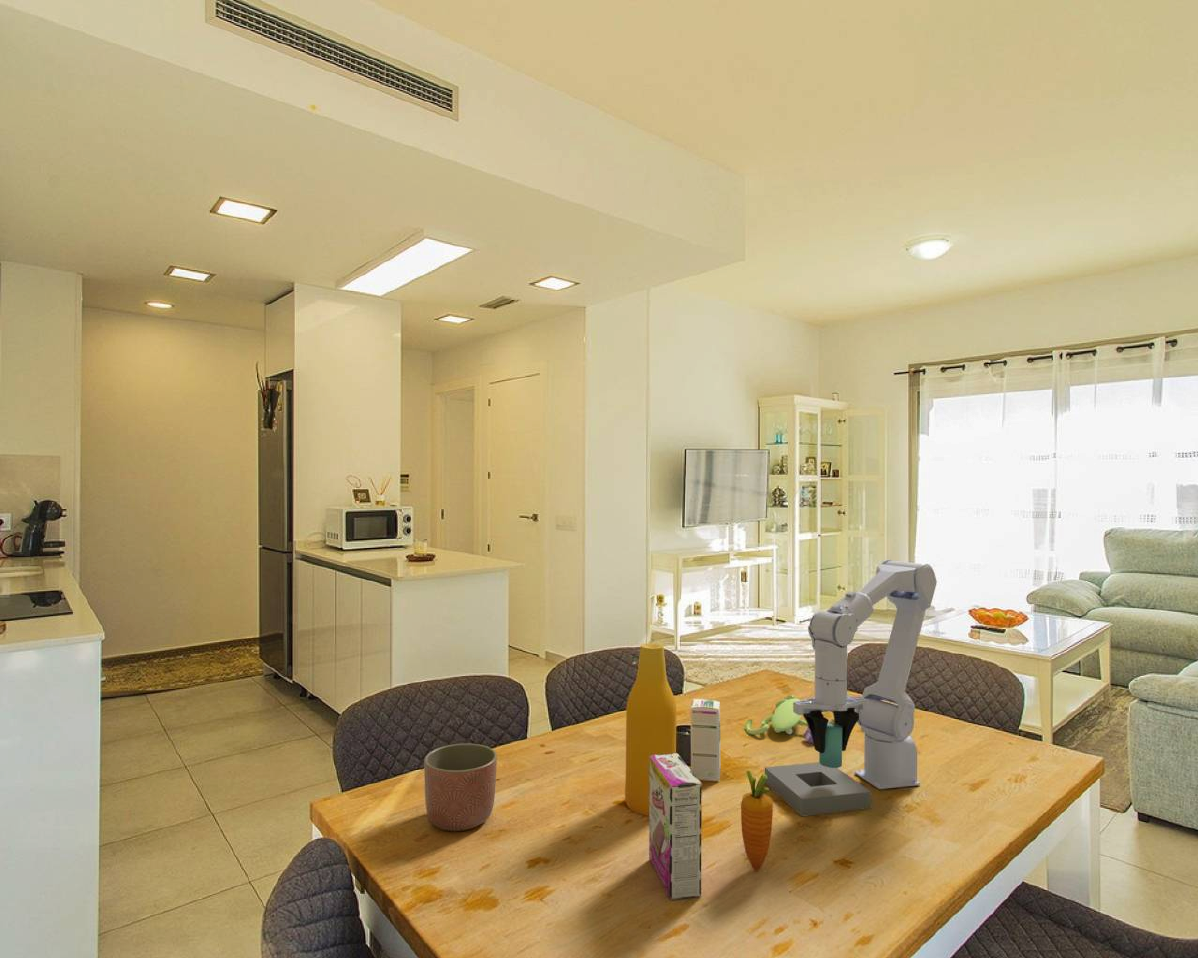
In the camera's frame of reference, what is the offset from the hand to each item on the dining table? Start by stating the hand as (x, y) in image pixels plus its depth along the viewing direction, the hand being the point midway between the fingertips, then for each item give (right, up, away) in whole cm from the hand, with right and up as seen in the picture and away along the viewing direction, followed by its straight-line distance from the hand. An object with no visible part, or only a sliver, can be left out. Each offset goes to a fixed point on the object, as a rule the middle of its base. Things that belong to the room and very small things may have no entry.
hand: (830, 749), depth 128 cm
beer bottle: (-34, -9, -3) cm, 35 cm away
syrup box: (-22, -10, +11) cm, 26 cm away
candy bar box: (-32, -9, -26) cm, 42 cm away
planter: (-67, -9, -9) cm, 68 cm away
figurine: (+6, -10, +40) cm, 42 cm away
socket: (-2, -9, +2) cm, 10 cm away
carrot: (-19, -9, -24) cm, 32 cm away
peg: (0, -2, 0) cm, 2 cm away
